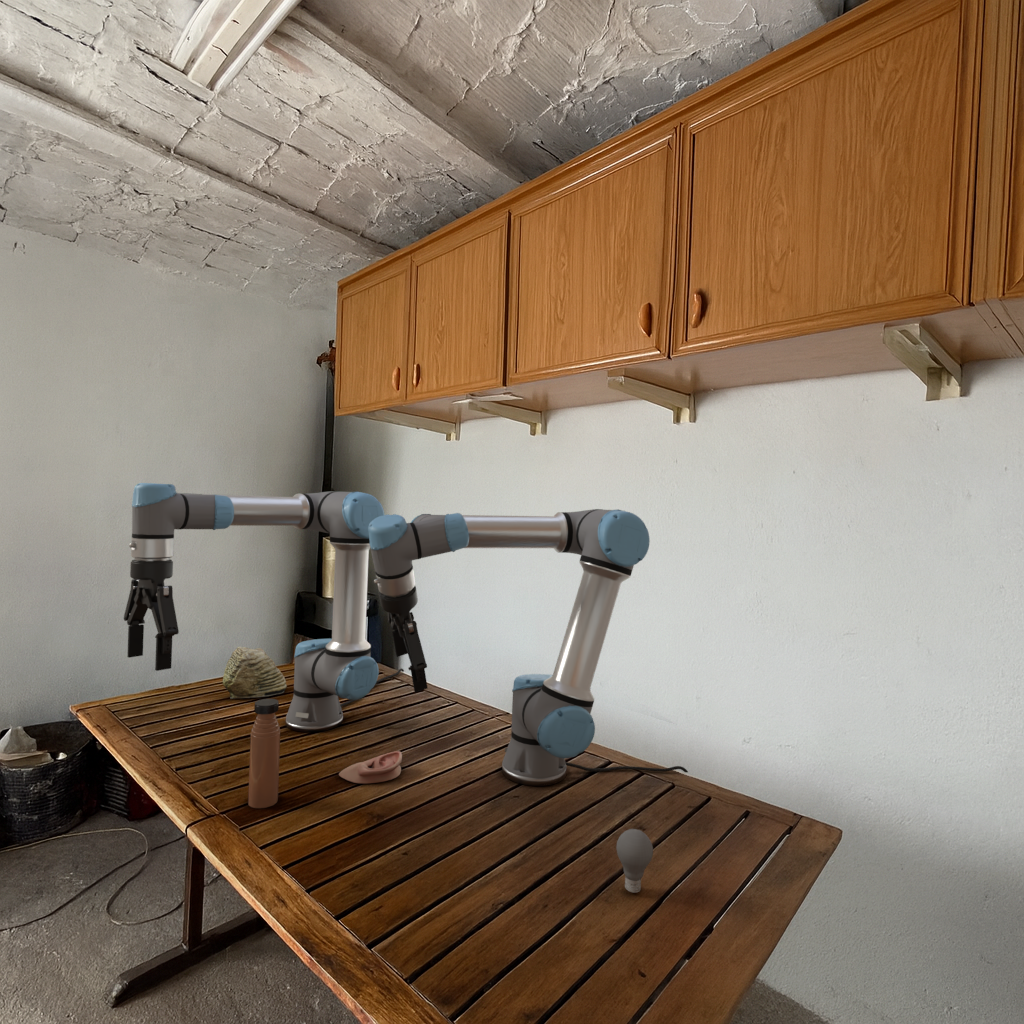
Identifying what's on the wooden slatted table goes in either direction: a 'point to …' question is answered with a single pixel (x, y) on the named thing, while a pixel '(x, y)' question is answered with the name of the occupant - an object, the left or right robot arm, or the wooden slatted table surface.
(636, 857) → the light bulb
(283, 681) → the fossil
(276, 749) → the bottle
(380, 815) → the wooden slatted table surface
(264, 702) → the cap
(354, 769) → the anatomical model
